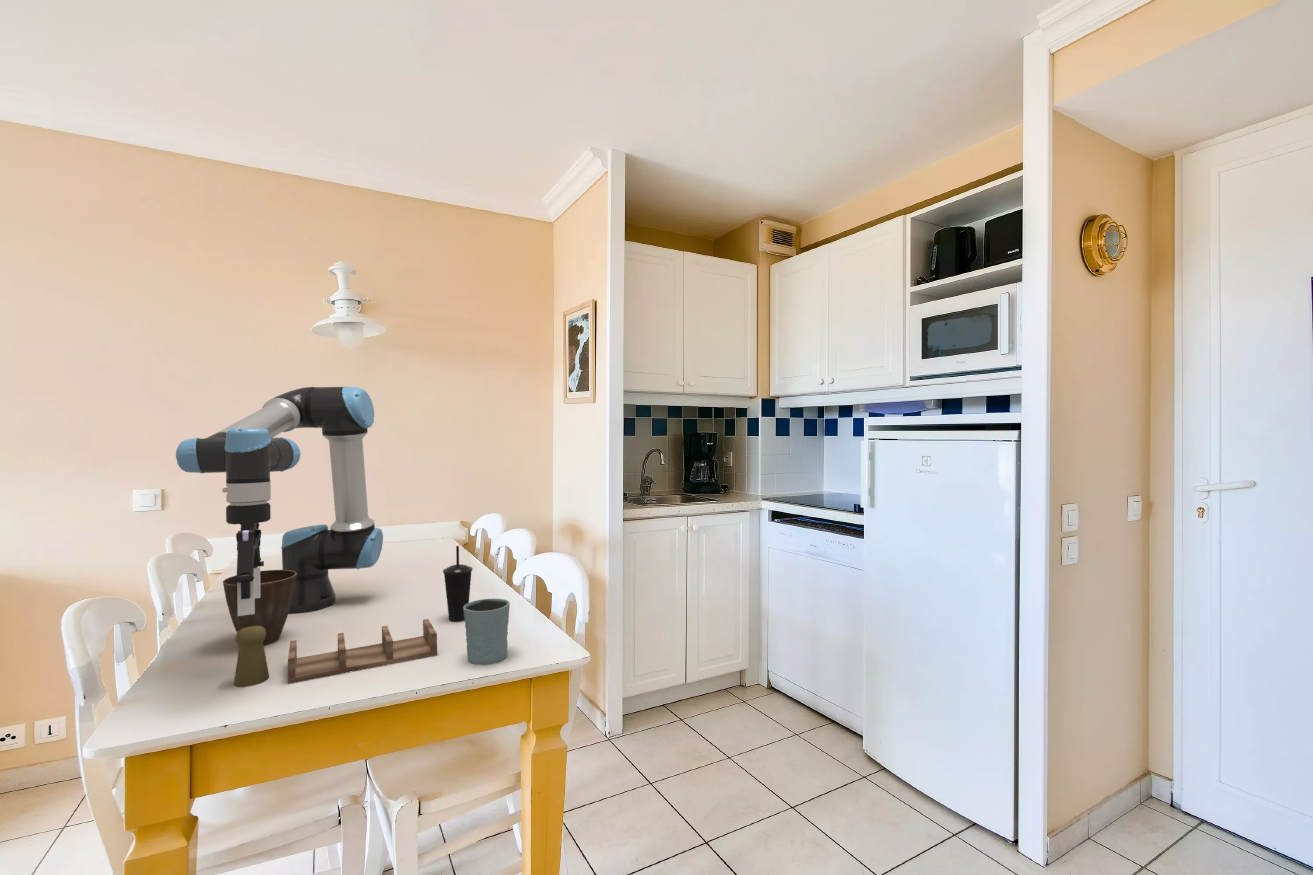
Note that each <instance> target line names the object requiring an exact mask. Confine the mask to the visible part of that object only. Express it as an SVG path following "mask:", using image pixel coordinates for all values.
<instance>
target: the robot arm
mask: <svg viewBox="0 0 1313 875" xmlns="http://www.w3.org/2000/svg"><path fill="white" fill-rule="evenodd" d="M374 418H375V410H374V404H373V400H372V399H371V396H370V395H369V393H368V392H367V391H366V390H365V389H364V388H361V387H354V386H320V387H319V386H306V387H299V388H296V389H292V390H290V391H287V392H283V393H282V394H279V395H276V396H275V397H273V398H271V399H269V400H267V401H266V402H265V403H264V404H263V406H262V408H261V409H258V410H257V411H254V412H253V413H251V414H250V415H248V416H245V417H243V418H242V419H240V420H238V421H236V422H234V423H233V424H230V425H228V426H227V427H225V428H223V429H221V430H219V431H217V432H215V433H213V434H212V435H209V436H208V437H204V438H201V437H195V438H187V439H184V440H182V441H181V442H180V443H179V444H178V446H177V448H176V452H175V459H176V464H177V466H178V467H179V468H180V469H181V470H182V471H184V472H185V473H194V474H195V473H198V474H199V473H200V474H208V473H209V474H213V473H214V474H217V473H225V479H226V480H225V486H226V487H224V488H222V490H221V491H222V493H226V495H225V498H226V500H225V502H226V503H228V505H227V506H226V507H225V522H226V523H227V524H228V525H240V530H238V531H237V532H236V534H235V538H236V539H235V540H236V551H237V556H236V557H237V559H236V575H237V577H236V578H235V579H233V583H237V605H238V616H243V615H250V614H255V598H260V571H261V567H264V566H265V561H264V560H262V558H261V548H260V547H261V539H262V529H259V527H260V523H265V522H266V523H267V522H268V521H270V520H271V516H272V514H271V510H272V509H271V504H270V502H269V501H270V500H271V499H272V498H271V494H272V493H271V492H272V489H271V488H272V487H271V486H272V485H271V482H272V480H271V473H272V472H273V473H274V472H284V471H287V470H290V469H292V468H294V467H295V466H296V465H297V464H299V461H300V459H301V450H300V447H299V445H298V444H297V443H296V442H295V441H293V440H292V439H289V438H284V437H277V436H278V435H280V434H281V433H288V432H291V431H293V430H295V429H304V428H305V429H306V428H307V429H308V428H309V429H310V428H311V429H312V428H313V429H321V433H322V434H321V435H322V437H323V438H325V439H327V441H328V446H329V455H330V456H329V458H330V467H331V468H330V469H331V480H332V491H333V503H334V504H333V505H334V515H335V521H333V523H331V525H330V529H329V527H328V525H327V524H317V525H310V526H304V527H298V528H295V529H291V530H288V531H286V532H285V533H284V534H283V535H282V540H281V548H280V549H281V567H282V569H281V570H291V571H295V572H296V573H297V574H296V582H295V588H294V593H293V597H292V601H291V605H290V609H289V612H288V614H290V613H291V614H295V613H304V612H311V611H316V610H321V609H325V608H327V607H329V606H330V607H331V606H332V605H333V604H335V603H336V593H335V590H334V587H333V585H332V583H331V580H330V578H329V570H345V569H346V570H353V569H354V570H355V569H356V570H360V569H366V568H372V567H374V565H376V564H377V562H378V561H379V558H380V557H381V553H382V550H383V543H384V533H383V530H382V529H381V528H379V527H376V526H375V520H374V519H373V518H371V517H369V509H368V495H367V494H368V493H367V483H366V470H365V469H366V468H365V467H366V466H365V455H364V442H363V441H364V440H363V439H364V437H366V435H367V434H368V432H369V431H368V429H370V428H371V427H372V426H373V424H374V422H375V421H374V420H375V419H374Z"/></svg>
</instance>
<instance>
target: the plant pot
mask: <svg viewBox="0 0 1313 875" xmlns="http://www.w3.org/2000/svg"><path fill="white" fill-rule="evenodd" d="M296 574H297V573H296V572H295V571H291V570H282V569H269V570H260V598H255V614H250V615H243V616H238V605H237V583H233V579H235V578H236V577H237V574H235V575H233V576H229V577H227V578H225V579H223V581H222V585H223V591H224V595H225V596H224V597H225V600H226V604H227V605H226V606H227V609H228V613H229V615H230V619H231V621H232V624H233V627H234V629H235V632H236V633H237V632H238V631H239V630H241V629H243V628H246V627H250V626H262V627H264V628H265V630H266V637H265V640H264V641H263V644H264V646H267V644H268V645H270V643H271V644H273V642H274V643H275V641H276V642H277V641H278V640H280V637H281V634H282V633H283V629H284V627H285V624H286V622H287V618H288V615H289V613H288V612H289V609H290V605H291V601H292V597H293V593H294V588H295V582H296Z"/></svg>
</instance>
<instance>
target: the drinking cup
mask: <svg viewBox="0 0 1313 875" xmlns="http://www.w3.org/2000/svg"><path fill="white" fill-rule="evenodd" d="M455 549H456V551H455V552H456V553H455V554H456V555H455V557H456V560H455V561H456V564H453V565H450V566H448V567H446V568H443V570H442V574H443V576H444V584H445V593H446V594H445V595H446V604H447V612H448V614H447V615H448V621H449V622H452V623H457V622H458V623H460V622H465V618H464V609H463V607H464V605H466V604H467V603H470V594H471V581H472V571H473V569H474V568H473V567H472V566H469V565H467V564H463V563H462V564H461V563H460V546H459V545H456V546H455Z"/></svg>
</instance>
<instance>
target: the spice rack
mask: <svg viewBox="0 0 1313 875" xmlns="http://www.w3.org/2000/svg"><path fill="white" fill-rule="evenodd" d="M297 644H298V643H297V639H296V640H290V641H289V646H288V647H289V648H288V657H287V675H288V676H287V680H288V682H287V684H288V685H290V684H294V683H295V682H296V683H299V682H305V681H310V679H311V680H315V678H316V679H321V678H326V677H325V676H327V677H331V676H330V675H332V676H337V675H341V673H342V674H345V673H346V672H347V673H351V672H350V671H353V672H357V671H362V669H363V670H367V668H368V669H372V668H373V669H374V668H377V666H378V667H382V666H383V665H384V666H388V664H389V665H393V664H397V663H404V662H409V661H410V662H411V661H414V660H420V659H424V658H425V659H426V658H430V657H434V656H438V632H437V631H436V630H435V628H434V626H433V624H432V623H431V621H430V620H429V619H428V618H427V619H426V618H425V619H422V636H415V637H410V638H405V639H398V640H394V639H393V638H392V635H391V632H390V628H389V626H388V625H383V626H381V643H377V644H371V645H370V644H369V645H365V646H359V647H358V646H357V647H353V648H348V649H347V648H346V647H347V646H346V641H345V634H344V632H339V633H337V650H335V651H331V652H330V651H329V652H325V653H324V652H323V653H319V654H313V655H306V656H301V657H298V656H297V655H298V651H297V650H298V649H297V648H298V647H297V646H298V645H297ZM336 674H337V675H336ZM289 683H290V684H289Z"/></svg>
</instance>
